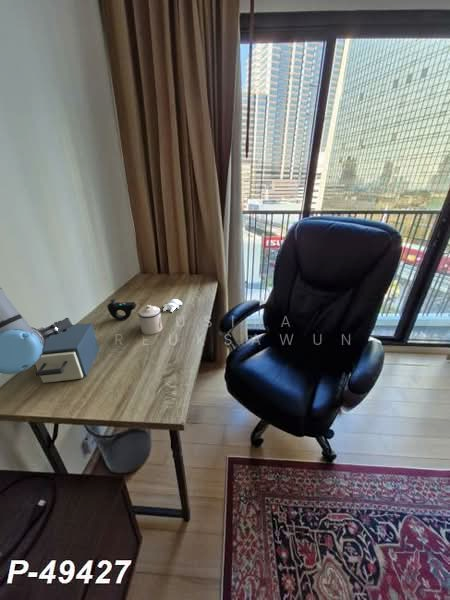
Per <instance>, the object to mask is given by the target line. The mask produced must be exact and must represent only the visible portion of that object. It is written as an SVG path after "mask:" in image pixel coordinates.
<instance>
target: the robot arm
mask: <svg viewBox="0 0 450 600" xmlns="http://www.w3.org/2000/svg"><path fill="white" fill-rule="evenodd" d="M72 325H73V323H72V322H71V320H70V318H69V317H65V318H63V319H62V320H58V321H55V322H54V323H52V324H51V325H49V326H46V327H40V328H35V327H32V326H30V324H29V323H28V322H27V320H26V319H25V318H24V317H23V316H22V315H21V314H20V312H19V311H18V310H17V308H16V307H15V306H14V304H13V303H12V302H11V300H10V299H9V297H8V295H6V293H5V292H4V290H3V289H2V288H1V286H0V374H3V375H15V374H19V373H22V372H24V371H27V370H28V369H30V368H31V367H32V366H34V365H35V363H36V362H37V360H39V358H40V357H41V355H42V350H43V349H44V346H45V341H46V340H48V339H49V337H50V336H51V335H56V334H59V333H60V332H61V331H63V332H65V331H67V328H68V327H71V326H72Z"/></svg>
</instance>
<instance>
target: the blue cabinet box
mask: <svg viewBox="0 0 450 600" xmlns="http://www.w3.org/2000/svg"><path fill="white" fill-rule="evenodd" d="M73 350H75V353H76V355H77V358H78V361H79V364H80V367H81V370H82V373H83V378H86V377H88V375H89V372H90V370H91V368H92V366H93V364H94V362H95V360H96V357H97V355H98V353H99V352H100V347H99V343H98V340H97V337H96V333H95V330H94V326H93V323H92V322H89V323H78V324H72V326H71V327H68V328H67V331H65V332H63V331H61V332H60V333H59V334H56V335H51V336H50V337H49V339H48V340H46V341H45V346H44V349H43V350H42V354H43V353H53V352H63V351H73Z"/></svg>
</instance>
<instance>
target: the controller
mask: <svg viewBox="0 0 450 600" xmlns="http://www.w3.org/2000/svg"><path fill="white" fill-rule="evenodd" d="M109 301H110V302H109V303H108V304H107V306H106V307H107V311H108V312H109V314H110V316H111V317H112V318H113V319H115V320H117V321H125V320H128V319H129V318H130V317H131V315H132V310H134V309H136V308H137V304H136V303H135V302H134V301H126V302H122V301H121V302H120V301H117V302H116V299H114V298H113V299H110V300H109ZM118 311H122V312H124V313H125V314H124V315H121V314H119V313H118Z"/></svg>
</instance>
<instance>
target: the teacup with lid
mask: <svg viewBox="0 0 450 600" xmlns="http://www.w3.org/2000/svg"><path fill="white" fill-rule="evenodd" d="M161 311H162V310H161V309H160V308H159V306H155V305H151V304H146V305H145V306H144V307H142V308H140V309H139V310H138V312H137V316H138V317H139V323H140V329H141V332H142V333H143V334H144V335H149V336H150V335H156V334H158V333H160V332H161V331H162V330H163V323H162V314H161Z"/></svg>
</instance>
